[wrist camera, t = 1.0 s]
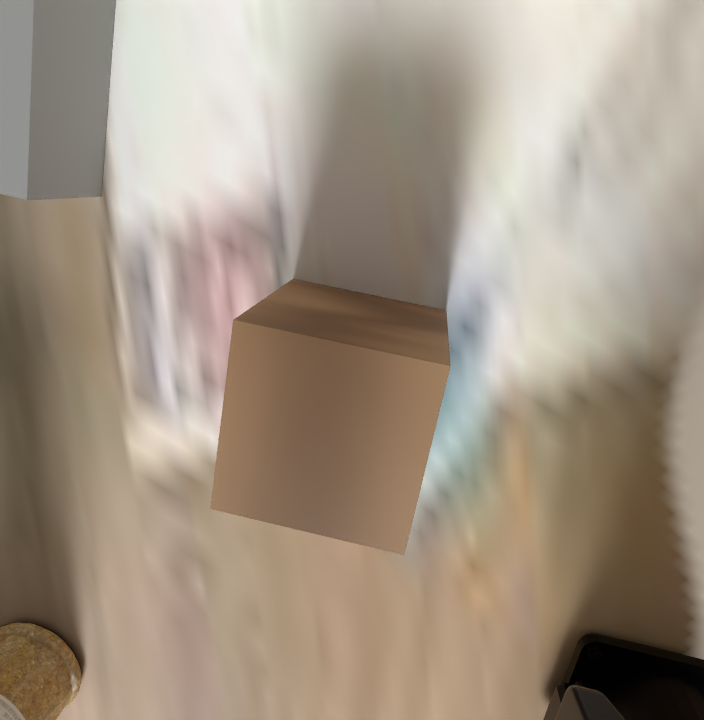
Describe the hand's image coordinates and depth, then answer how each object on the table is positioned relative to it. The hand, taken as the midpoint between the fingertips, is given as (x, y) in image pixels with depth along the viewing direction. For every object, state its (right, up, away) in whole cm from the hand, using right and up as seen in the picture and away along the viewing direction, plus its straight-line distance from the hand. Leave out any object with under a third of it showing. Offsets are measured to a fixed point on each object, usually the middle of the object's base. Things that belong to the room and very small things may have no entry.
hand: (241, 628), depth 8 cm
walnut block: (+2, +4, +12) cm, 12 cm away
